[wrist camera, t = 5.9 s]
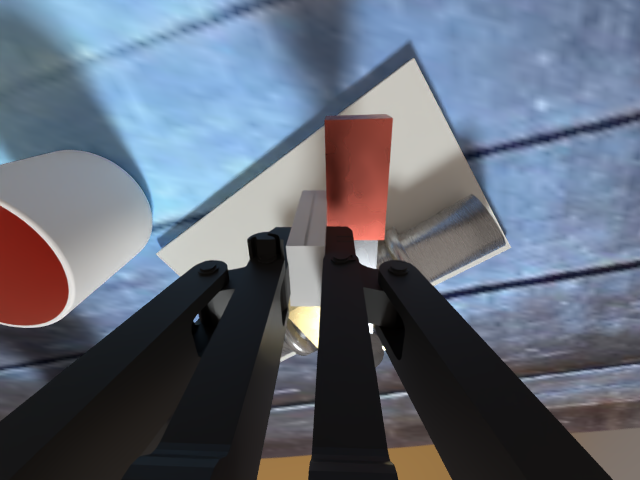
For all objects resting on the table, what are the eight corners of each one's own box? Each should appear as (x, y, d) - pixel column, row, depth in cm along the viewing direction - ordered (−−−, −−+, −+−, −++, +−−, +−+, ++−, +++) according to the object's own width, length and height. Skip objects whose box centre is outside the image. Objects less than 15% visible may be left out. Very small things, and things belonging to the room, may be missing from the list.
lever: (378, 353, 23) (382, 376, 21) (324, 352, 23) (323, 375, 21) (396, 113, 15) (404, 117, 13) (316, 116, 15) (313, 120, 14)
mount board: (276, 357, 34) (275, 364, 34) (161, 248, 29) (155, 254, 28) (505, 242, 26) (510, 247, 26) (410, 59, 21) (413, 58, 20)
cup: (142, 147, 24) (31, 184, 15) (170, 255, 29) (96, 331, 20) (22, 145, 25) (-153, 180, 16) (69, 252, 29) (-48, 326, 20)
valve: (274, 347, 33) (259, 411, 27) (230, 305, 31) (202, 364, 24) (488, 236, 26) (538, 287, 20) (452, 170, 24) (496, 203, 17)
